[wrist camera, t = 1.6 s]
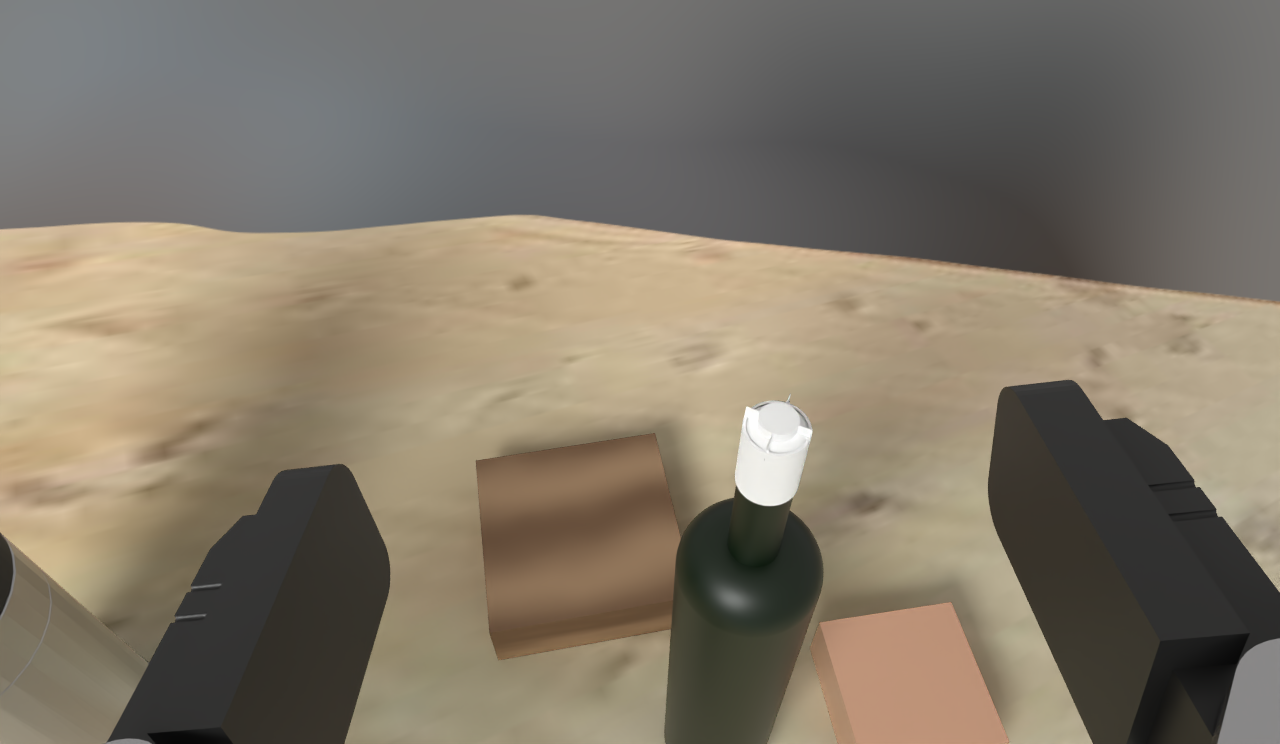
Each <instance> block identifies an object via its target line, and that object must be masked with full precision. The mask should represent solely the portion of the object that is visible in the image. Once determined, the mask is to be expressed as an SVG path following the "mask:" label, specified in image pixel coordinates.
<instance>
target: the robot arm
mask: <svg viewBox="0 0 1280 744" xmlns="http://www.w3.org/2000/svg"><path fill="white" fill-rule="evenodd" d="M988 497H989V505H990V511H991V515H992V519H993V523H994V526H995V529H996V532H997V534H998V536H999V538H1000V541H1001V543H1002V545H1003V547H1004V549H1005V552H1006V554H1007V556H1008V558H1009V560H1010V563H1011V565H1012V567H1013V569H1014V571H1015V574H1016V576H1017V578H1018V580H1019V582H1020V584H1021V587H1022V589H1023V591H1024V593H1025V595H1026V598H1027V600H1028V602H1029V604H1030V606H1031V609H1032V611H1033V613H1034V615H1035V617H1036V620H1037V622H1038V624H1039V626H1040V628H1041V631H1042V633H1043V635H1044V637H1045V639H1046V641H1047V644H1048V646H1049V648H1050V650H1051V652H1052V655H1053V657H1054V659H1055V661H1056V663H1057V666H1058V668H1059V670H1060V672H1061V674H1062V677H1063V679H1064V681H1065V683H1066V685H1067V688H1068V690H1069V692H1070V694H1071V696H1072V698H1073V701H1074V703H1075V705H1076V707H1077V709H1078V712H1079V714H1080V716H1081V718H1082V720H1083V723H1084V725H1085V727H1086V729H1087V731H1088V734H1089V736H1090V738H1091V740H1092V742H1093V744H1280V592H1279V591H1278V590H1277V588H1276V587H1275V586H1274V585H1273V583H1272V582H1271V581H1270V579H1269V578H1268V577H1267V575H1266V574H1265V573H1264V571H1263V570H1262V569H1261V567H1260V566H1259V565H1258V563H1257V562H1256V561H1255V559H1254V558H1253V557H1252V556H1251V554H1250V553H1249V552H1248V550H1247V549H1246V548H1245V546H1244V545H1243V544H1242V542H1241V541H1240V540H1239V538H1238V537H1237V536H1236V534H1235V533H1234V532H1233V530H1232V529H1231V528H1230V527H1229V525H1228V524H1227V523H1226V521H1225V520H1224V519H1223V517H1218V516H1217V514H1216V508H1215V507H1214V505H1213V504H1212V503H1211V501H1210V500H1209V499H1208V497H1207V496H1206V495H1205V494H1204V492H1203V491H1202V490H1201V488H1200V487H1197V488H1196V487H1195V484H1194V479H1193V478H1192V476H1191V475H1190V474H1189V472H1188V471H1187V470H1186V468H1185V467H1184V466H1183V465H1182V463H1181V462H1180V461H1179V459H1178V458H1177V457H1176V455H1175V454H1174V453H1173V451H1172V450H1171V449H1170V447H1169V446H1168V445H1167V444H1165V443H1164V442H1162V441H1161V440H1159V439H1158V438H1156V437H1155V436H1153V435H1152V434H1150V433H1149V432H1147V431H1146V430H1144V429H1143V428H1141V427H1140V426H1138V425H1137V424H1135V423H1134V422H1132V421H1131V420H1129V419H1128V418H1120V419H1111V420H1103V419H1102V418H1101V416H1100V415H1099V413H1098V412H1097V411H1096V409H1095V408H1094V406H1093V405H1092V403H1091V402H1090V400H1089V399H1088V398H1087V396H1086V395H1085V393H1084V392H1083V390H1082V389H1081V388H1080V386H1079V385H1078V384H1077V383H1076V382H1074V381H1072V380H1063V381H1054V382H1045V383H1036V384H1028V385H1019V386H1010V387H1005V388H1003V389H1002V391H1001V393H1000V395H999V399H998V405H997V413H996V421H995V429H994V437H993V446H992V454H991V462H990V470H989V478H988ZM191 587H192V590H191V592H188V593H187V594H186V595H185V597H184V599H183V601H182V603H181V605H180V607H179V608H178V610H177V612H176V614H175V617H176V620H175V623H170V625H169V627H168V629H167V631H166V633H165V635H164V637H163V638H162V640H161V642H160V644H159V646H158V648H157V650H156V652H155V653H154V655H153V657H152V659H151V661H150V663H148V662H147V661H146V660H145V659H144V658H143V657H141V656H139V655H138V654H137V653H136V652H135V651H134V650H133V649H131V648H130V647H129V646H128V645H127V644H126V643H125V642H123V641H122V640H121V639H120V638H119V637H118V636H117V635H116V634H114V633H113V632H112V631H111V630H110V629H109V628H108V627H106V626H105V625H104V624H103V623H102V622H101V621H100V620H99V619H97V618H96V617H95V616H94V615H93V614H92V613H91V612H89V611H88V610H87V609H86V608H85V607H84V606H83V605H82V604H80V603H79V602H78V601H77V600H76V599H75V598H74V597H72V596H71V595H70V594H69V593H68V592H67V591H66V590H65V589H63V588H62V587H61V586H60V585H59V584H58V583H57V582H55V581H54V580H53V579H52V578H51V577H50V576H49V575H48V574H46V573H45V572H44V571H43V570H42V569H41V568H40V567H38V566H37V565H36V564H35V563H34V562H33V561H32V560H31V559H30V558H28V557H27V556H26V555H25V554H24V553H23V552H22V551H20V550H19V549H18V548H17V547H16V546H15V545H14V544H13V543H11V542H10V541H9V540H8V539H7V538H6V537H5V536H4V535H2V534H1V533H0V744H344V743H345V739H346V736H347V733H348V729H349V726H350V722H351V719H352V716H353V712H354V709H355V705H356V702H357V699H358V695H359V692H360V689H361V685H362V682H363V678H364V675H365V672H366V668H367V665H368V661H369V658H370V655H371V651H372V648H373V645H374V641H375V638H376V634H377V631H378V628H379V624H380V621H381V618H382V614H383V611H384V607H385V604H386V601H387V597H388V593H389V587H390V563H389V557H388V553H387V549H386V546H385V544H384V541H383V539H382V537H381V535H380V533H379V531H378V528H377V526H376V524H375V522H374V520H373V517H372V515H371V513H370V511H369V509H368V506H367V504H366V502H365V500H364V498H363V496H362V493H361V491H360V489H359V487H358V485H357V482H356V480H355V478H354V476H353V474H352V472H351V471H350V470H349V468H347V467H346V466H345V465H343V464H336V465H327V466H318V467H309V468H300V469H291V470H284V471H281V472H280V473H278V475H277V476H276V477H275V478H274V480H273V482H272V484H271V486H270V488H269V490H268V492H267V494H266V496H265V498H264V500H263V502H262V504H261V506H260V508H259V510H258V512H257V514H256V515H247V516H242V517H241V518H240V519H239V520H238V521H237V522H236V524H235V525H234V526H233V527H232V528H231V529H230V530H229V531H228V532H227V533H226V534H225V535H224V536H223V537H222V538H221V539H220V540H219V541H218V542H217V543H216V544H215V545H214V546H213V547H212V548H211V549H210V550H209V552H208V554H207V556H206V558H205V560H204V562H203V564H202V565H201V567H200V569H199V571H198V573H197V575H196V577H195V579H194V580H193V582H192V584H191Z"/></svg>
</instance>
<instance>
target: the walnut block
mask: <svg viewBox="0 0 1280 744" xmlns="http://www.w3.org/2000/svg"><path fill="white" fill-rule="evenodd" d="M476 469H477V482H478V494H479V507H480V519H481V531H482V544H483V556H484V569H485V581H486V594H487V606H488V619H489V631H490V636H491V639H492V642H493V645H494V648H495V651H496V654H497V657H498V660H502V659H508V658H513V657H519V656H524V655H530V654H535V653H541V652H546V651H552V650H557V649H563V648H568V647H574V646H579V645H585V644H590V643H596V642H602V641H607V640H613V639H618V638H624V637H629V636H635V635H640V634H646V633H651V632H657V631H662V630H668V629H671V623H672V608H673V593H674V577H675V562H676V554H677V549H678V546H679V543H680V540H681V537H680V533H679V529H678V525H677V521H676V517H675V513H674V508H673V504H672V500H671V496H670V492H669V488H668V484H667V480H666V476H665V472H664V468H663V464H662V460H661V456H660V452H659V448H658V444H657V439H656V435H655V433H653V434H646V435H640V436H633V437H627V438H620V439H614V440H607V441H601V442H594V443H588V444H581V445H575V446H568V447H562V448H555V449H549V450H542V451H536V452H529V453H523V454H516V455H510V456H503V457H497V458H490V459H483V460H477V461H476Z"/></svg>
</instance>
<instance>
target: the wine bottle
mask: <svg viewBox="0 0 1280 744" xmlns="http://www.w3.org/2000/svg"><path fill="white" fill-rule="evenodd" d="M790 395H791V394H790ZM790 395H789V397H788V399H787V402H783V401H775V400H772V401H765V402H761V403H758V404H756V405H755V406H753V407H752V408H749V407H747V406H746V411H745V416H744V419H743V424H742V431H741V438H740V444H739V451H738V457H737V464H736V471H735V482H736V489H735V496H734V498H731V499H727V500H723V501H720V502H718V503H715V504H713V505H711V506H710V507H708V508H706V509H705V510H704V511H702V512H701V513H700V514H699V515H697V516H696V517H695V518H694V519H693V521H692V522H691V523H690V524H689V526H688V527H687V529H686V530H685V532H684V534H683V536H682V538H681V540H680V543H679V546H678V549H677V554H676V562H675V577H674V593H673V608H672V623H671V639H670V654H669V669H668V684H667V700H666V715H665V731H664V734H665V743H666V744H767V741H768V739H769V736H770V733H771V730H772V727H773V725H774V722H775V719H776V716H777V713H778V710H779V708H780V705H781V702H782V699H783V696H784V694H785V691H786V688H787V685H788V682H789V680H790V677H791V674H792V671H793V668H794V665H795V663H796V660H797V657H798V654H799V651H800V649H801V646H802V643H803V640H804V637H805V635H806V632H807V629H808V626H809V623H810V620H811V618H812V615H813V612H814V609H815V606H816V604H817V601H818V598H819V595H820V592H821V588H822V583H823V562H822V556H821V553H820V549H819V547H818V544H817V542H816V540H815V538H814V536H813V534H812V533H811V531H810V530H809V528H808V527H807V526H806V525H805V524H804V522H803V521H802V520H801V519H800V518H799V517H797V516H796V515H795V514H794V513H792V512H791V511H790V506H791V502H792V498H793V496H794V495H795V494H796V492H797V490H798V487H799V483H800V479H801V475H802V471H803V467H804V463H805V459H806V456H807V452H808V448H809V444H810V440H811V436H812V432H813V430H812V426H811V423H810V421H809V419H808V417H807V416H806V414H805V413H804V412H803V411H802V410H800V409H799V408H798V407H796V406H794V405H792V404H790V401H789V399H790Z"/></svg>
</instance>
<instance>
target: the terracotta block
mask: <svg viewBox="0 0 1280 744" xmlns="http://www.w3.org/2000/svg"><path fill="white" fill-rule="evenodd" d="M810 650H811V653H812V657H813V660H814V664H815V667H816V671H817V674H818V677H819V681H820V684H821V688H822V691H823V694H824V698H825V701H826V705H827V708H828V712H829V715H830V718H831V722H832V725H833V729H834V732H835V735H836V739H837V742H838V744H1008V743H1009V740H1008V737H1007V735H1006V733H1005V730H1004V728H1003V725H1002V723H1001V720H1000V718H999V716H998V713H997V711H996V708H995V706H994V704H993V701H992V699H991V696H990V694H989V692H988V689H987V687H986V684H985V682H984V680H983V677H982V675H981V672H980V670H979V667H978V665H977V663H976V660H975V658H974V655H973V653H972V651H971V648H970V646H969V643H968V641H967V639H966V636H965V634H964V631H963V629H962V627H961V624H960V622H959V619H958V617H957V615H956V612H955V610H954V607H953V605H952V602H948V603H942V604H935V605H929V606H922V607H916V608H909V609H903V610H896V611H890V612H883V613H877V614H870V615H864V616H857V617H851V618H844V619H838V620H831V621H825V622H819V625H818V628H817V630H816V633H815V636H814V638H813V641H812V644H811V646H810Z"/></svg>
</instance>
